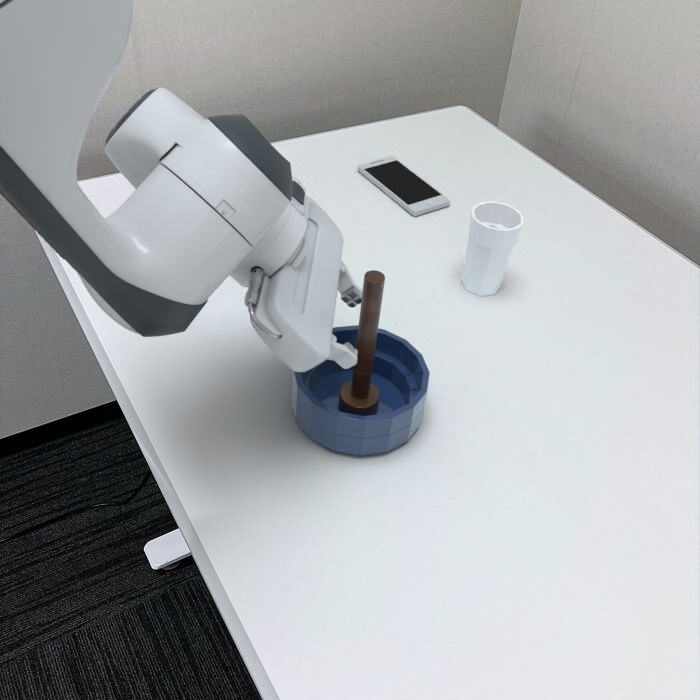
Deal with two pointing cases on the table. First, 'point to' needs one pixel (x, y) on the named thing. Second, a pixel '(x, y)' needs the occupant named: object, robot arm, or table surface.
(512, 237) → the cup
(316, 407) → the bowl
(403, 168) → the smartphone
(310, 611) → the table surface
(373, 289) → the stick
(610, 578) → the table surface
